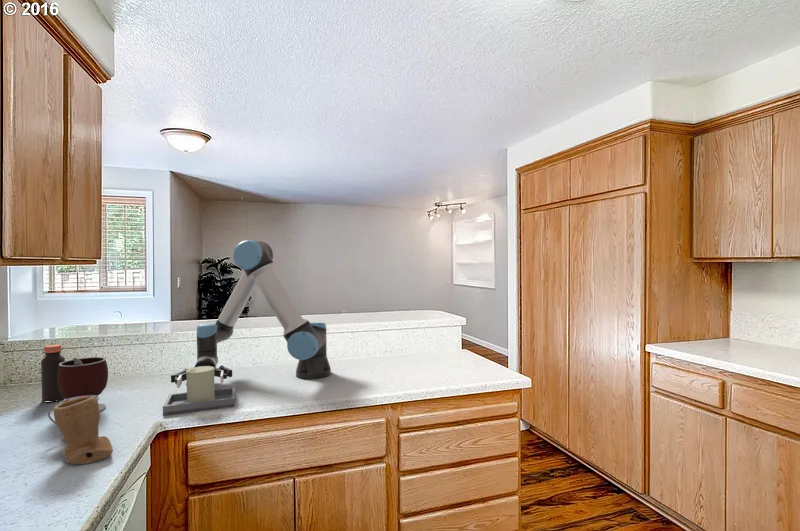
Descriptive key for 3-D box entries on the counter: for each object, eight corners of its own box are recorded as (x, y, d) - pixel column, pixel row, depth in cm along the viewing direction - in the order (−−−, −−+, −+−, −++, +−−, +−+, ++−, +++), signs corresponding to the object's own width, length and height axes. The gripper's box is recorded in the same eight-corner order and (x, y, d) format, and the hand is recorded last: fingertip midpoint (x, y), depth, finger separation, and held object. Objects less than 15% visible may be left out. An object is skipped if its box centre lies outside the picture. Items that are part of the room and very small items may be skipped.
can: (182, 402, 151) (181, 368, 151) (208, 396, 158) (208, 363, 157) (192, 408, 145) (192, 372, 144) (219, 401, 151) (219, 367, 151)
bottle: (45, 398, 160) (44, 345, 160) (68, 395, 163) (66, 343, 163) (39, 403, 154) (37, 348, 154) (62, 401, 157) (60, 346, 157)
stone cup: (54, 452, 114) (53, 396, 114) (108, 440, 122) (107, 388, 121) (54, 474, 102) (52, 412, 102) (113, 459, 110) (112, 401, 110)
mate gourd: (66, 407, 150) (65, 350, 149) (113, 402, 155) (112, 347, 154) (49, 423, 135) (47, 360, 135) (101, 416, 140) (100, 356, 140)
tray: (235, 395, 161) (235, 387, 161) (234, 407, 148) (234, 398, 148) (169, 402, 154) (169, 394, 154) (162, 415, 141) (162, 406, 141)
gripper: (239, 373, 172) (239, 388, 152) (169, 380, 164) (159, 396, 144) (239, 355, 172) (238, 367, 152) (169, 360, 164) (159, 374, 144)
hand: (200, 381), depth 148 cm, fingers open, 13 cm apart
